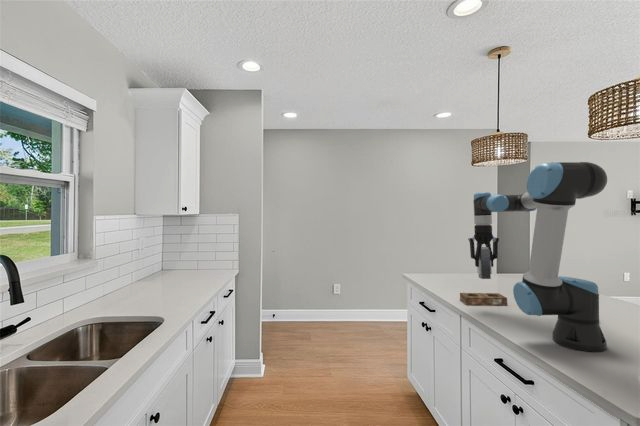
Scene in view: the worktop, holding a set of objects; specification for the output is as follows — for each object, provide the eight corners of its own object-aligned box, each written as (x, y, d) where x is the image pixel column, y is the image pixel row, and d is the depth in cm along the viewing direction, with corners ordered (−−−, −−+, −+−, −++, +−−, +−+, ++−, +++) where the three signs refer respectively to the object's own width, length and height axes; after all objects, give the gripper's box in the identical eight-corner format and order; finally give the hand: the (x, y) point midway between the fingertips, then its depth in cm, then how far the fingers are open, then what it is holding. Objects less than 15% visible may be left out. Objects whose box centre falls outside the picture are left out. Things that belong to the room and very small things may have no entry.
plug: (490, 278, 152) (489, 247, 153) (481, 278, 153) (480, 247, 153) (487, 277, 156) (486, 246, 157) (478, 277, 157) (477, 246, 157)
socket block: (498, 300, 174) (498, 293, 174) (507, 305, 164) (507, 298, 164) (460, 300, 176) (459, 292, 176) (466, 305, 166) (466, 297, 166)
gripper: (498, 224, 158) (499, 272, 157) (461, 224, 160) (463, 272, 159) (505, 224, 150) (506, 274, 150) (467, 225, 152) (468, 274, 152)
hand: (484, 273), depth 154 cm, fingers closed on plug, 4 cm apart
